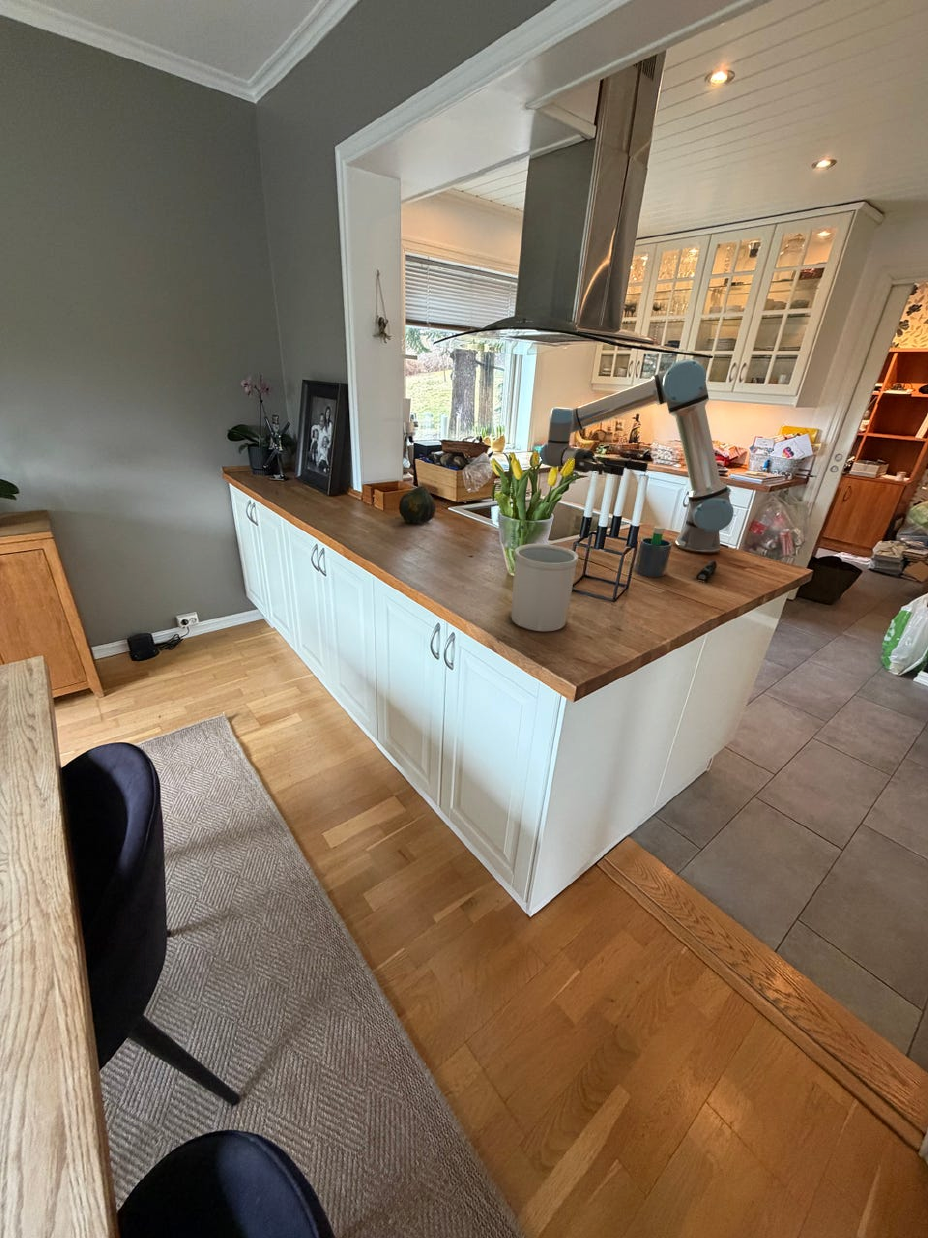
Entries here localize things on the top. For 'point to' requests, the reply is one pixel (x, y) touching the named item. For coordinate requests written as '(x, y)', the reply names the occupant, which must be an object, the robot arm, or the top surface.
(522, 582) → the utensil holder
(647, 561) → the cup
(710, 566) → the electric trimmer
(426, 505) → the squash
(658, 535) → the green marker
